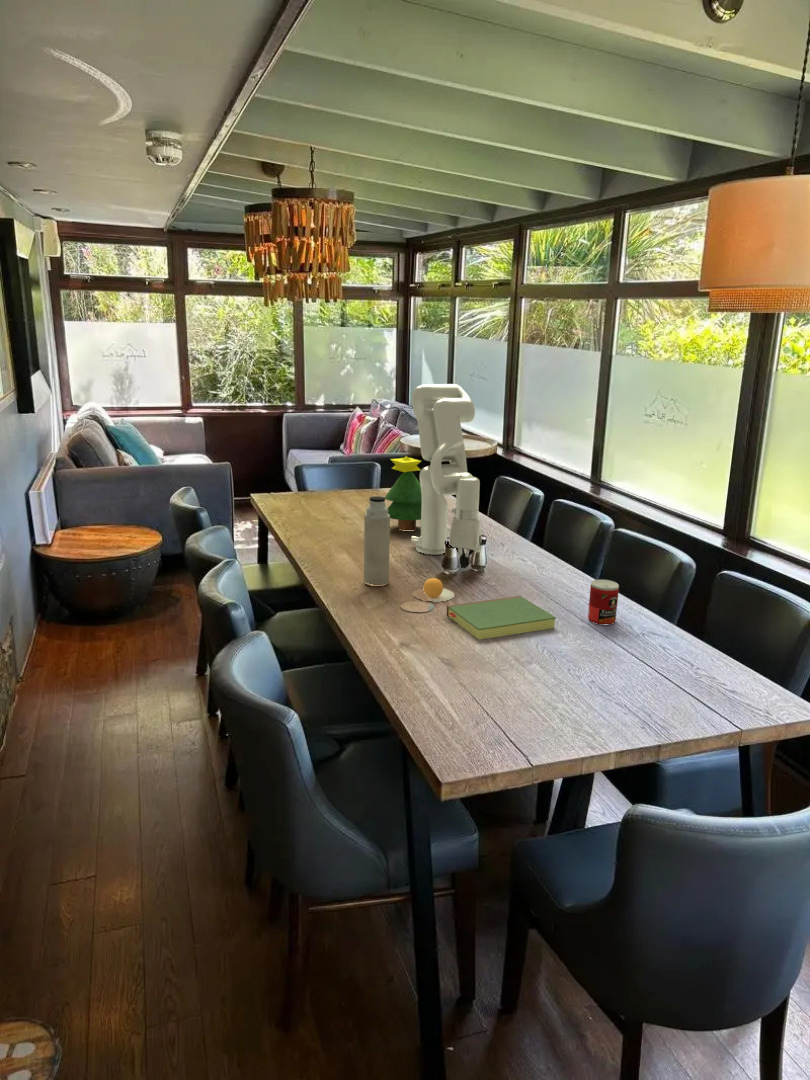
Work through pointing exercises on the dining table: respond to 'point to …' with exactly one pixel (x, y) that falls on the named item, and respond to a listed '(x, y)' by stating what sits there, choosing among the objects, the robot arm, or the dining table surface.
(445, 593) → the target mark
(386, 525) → the thermos bottle
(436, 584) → the ball
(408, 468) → the decorative tree
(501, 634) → the hardcover book
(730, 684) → the dining table surface
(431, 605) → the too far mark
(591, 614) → the canned food
